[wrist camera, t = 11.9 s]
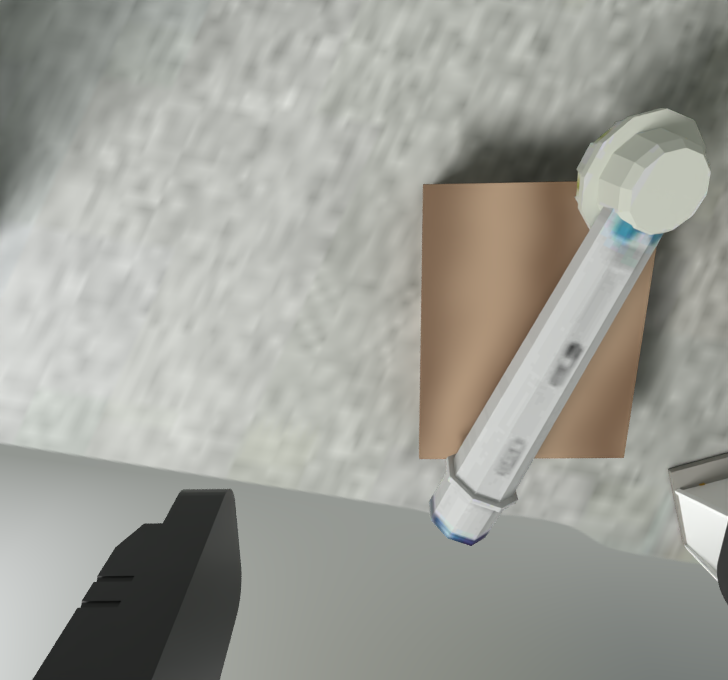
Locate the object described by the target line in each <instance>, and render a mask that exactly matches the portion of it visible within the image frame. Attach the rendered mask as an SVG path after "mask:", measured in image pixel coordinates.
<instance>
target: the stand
mask: <svg viewBox="0 0 728 680" xmlns="http://www.w3.org/2000/svg"><path fill="white" fill-rule="evenodd" d="M576 192H577V181H565V182H513V183H462V184H423V224H422V290H421V356H420V422H419V458H420V459H447V457H448V456H451V455H453V454H456V453H457V452H458V450H459V449H460V447H461V445H462V444H463V442H464V440H465V439H466V437H467V435H468V434H469V432H470V430H471V429H472V427H473V425H474V423H475V422H476V420H477V418H478V417H479V415H480V413H481V412H482V410H483V408H484V407H485V405H486V403H487V402H488V400H489V398H490V397H491V395H492V393H493V392H494V390H495V388H496V387H497V385H498V383H499V382H500V380H501V378H502V376H503V375H504V373H505V371H506V370H507V368H508V366H509V365H510V363H511V361H512V360H513V358H514V356H515V355H516V353H517V351H518V350H519V348H520V346H521V345H522V343H523V341H524V340H525V338H526V336H527V335H528V333H529V331H530V329H531V328H532V326H533V324H534V323H535V321H536V319H537V318H538V316H539V314H540V313H541V311H542V309H543V308H544V306H545V304H546V303H547V301H548V299H549V298H550V296H551V294H552V293H553V291H554V289H555V288H556V286H557V284H558V282H559V281H560V279H561V277H562V276H563V274H564V272H565V271H566V269H567V267H568V266H569V264H570V262H571V261H572V259H573V257H574V256H575V254H576V252H577V251H578V249H579V247H580V246H581V244H582V242H583V241H584V239H585V237H586V235H587V234H588V232H589V228H588V226H587V224H586V222H585V221H584V219H583V217H582V215H581V213H580V211H579V209H578V203H577V201H576V199H575V197H574V196H576ZM656 247H657V246H656ZM655 253H656V248H655V249H654V251H653V253H652V255H651V256H650V258H649V260H648V262H647V263H646V265H645V267H644V269H643V270H642V272H641V274H640V275H639V277H638V279H637V281H636V282H635V284H634V286H633V288H632V289H631V291H630V293H629V295H628V296H627V298H626V300H625V302H624V303H623V305H622V307H621V308H620V310H619V312H618V314H617V315H616V317H615V319H614V321H613V322H612V324H611V326H610V328H609V329H608V331H607V333H606V334H605V336H604V338H603V340H602V341H601V343H600V345H599V347H598V348H597V350H596V352H595V354H594V355H593V357H592V359H591V360H590V362H589V364H588V366H587V367H586V369H585V371H584V373H583V374H582V376H581V378H580V380H579V381H578V383H577V385H576V386H575V388H574V390H573V392H572V393H571V395H570V397H569V399H568V400H567V402H566V404H565V406H564V407H563V409H562V411H561V413H560V414H559V416H558V418H557V419H556V421H555V423H554V425H553V426H552V428H551V430H550V432H549V433H548V435H547V437H546V439H545V440H544V442H543V444H542V445H541V447H540V449H539V451H538V452H537V454H536V456H535V458H624V453H625V446H626V440H627V434H628V427H629V421H630V414H631V408H632V401H633V395H634V388H635V382H636V376H637V369H638V363H639V356H640V350H641V343H642V337H643V331H644V324H645V318H646V311H647V305H648V298H649V292H650V285H651V279H652V273H653V266H654V260H655Z"/></svg>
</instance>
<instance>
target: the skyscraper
mask: <svg viewBox="0 0 728 680" xmlns="http://www.w3.org/2000/svg"><path fill="white" fill-rule="evenodd" d="M668 472H669V477H670V482H671V487H672V492H673V497H674V502H675V507H676V512H677V517H678V522H679V527H680V532H681V537H682V542H683V545H684V546H685V548H686V549H687V550H688V551H689V552H690V553H691V554H692V555H693V556H694V557H695V558H696V559H697V560H698V561H699V563H700V564H701V565H702V566H703V567H704V568H705V569H706V570H707V571H708V572H709V573H710V574H711V575H712V576H713V577H714V578H715V579H716V580H717V581H718V578H717V563H718V559H719V555H720V551H721V547H722V543H723V539H724V535H725V531H726V527H727V523H728V453H726V454H722V455H719V456H715V457H711V458H708V459H704V460H700V461H697V462H693V463H689V464H686V465H682V466H678V467H675V468H671V469H668Z"/></svg>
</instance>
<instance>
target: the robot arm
mask: <svg viewBox="0 0 728 680" xmlns="http://www.w3.org/2000/svg"><path fill="white" fill-rule="evenodd" d="M240 561H241V560H240V550H239V539H238V529H237V518H236V507H235V498H234V494H233V491H232V490H231V489H191V490H190V489H186V490H182V491H181V492H180V493H179V495H178V496H177V498H176V500H175V502H174V504H173V505H172V507H171V509H170V511H169V513H168V515H167V517H166V518H165V520H164V522H163V523H162V524H161V523H160V524H159V523H158V524H143V525H142V526H141V527H140V528H138V529H137V530H136V531H135V532H134V533H132V534H131V535H130V536H129V537H127V538H126V539H125V540H124V541H123V542H121V543H120V544H119V545H118V546H117V547H115V549H114V551H113V552H112V554H111V555H110V557H109V559H108V560H107V562H106V563H105V565H104V567H103V568H102V570H101V571H100V573H99V575H98V576H97V577H98V578H97V582H94V583H93V584H92V586H91V587H90V589H89V590H88V592H87V594H86V595H85V597H84V598H83V600H82V605H81V608H77V610H76V611H75V613H74V614H73V616H72V618H71V619H70V621H69V622H68V624H67V626H66V627H65V629H64V630H63V632H62V634H61V635H60V637H59V638H58V640H57V641H56V643H55V645H54V646H53V648H52V649H51V651H50V653H49V654H48V656H47V657H46V659H45V661H44V662H43V664H42V665H41V667H40V669H39V670H38V672H37V674H36V675H35V677H34V678H33V680H220V676H221V673H222V669H223V665H224V661H225V658H226V653H227V650H228V646H229V643H230V639H231V635H232V631H233V627H234V624H235V620H236V616H237V612H238V607H239V601H240V593H241V562H240ZM717 578H718V583H719V587H720V590H721V592H722V595H723V597H724V599H725V601H726V602H727V604H728V523H727V527H726V531H725V535H724V539H723V543H722V547H721V551H720V555H719V559H718V563H717Z"/></svg>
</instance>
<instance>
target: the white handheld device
mask: <svg viewBox="0 0 728 680" xmlns="http://www.w3.org/2000/svg"><path fill="white" fill-rule="evenodd" d="M705 154H706V146H705V143H704V141H703V139H702V136H701V134H700V132H699V129H698V127H697V125H696V122H695V120H693V119H691V118H688V117H686V116H684V115H681V114H679V113H677V112H674V111H672V110H670V109H667V108H659V109H655V110H651V111H647V112H644V113H640V114H636V115H632V116H628V117H627V118H626V119H625V120H621V121H617V122H615V125H613V126H612V127H611V128H610V129H609V130H608V131H606V132H605V133H604V134H603V135H602V136H600V137H599V138H598V139H597V140H596V141H595V142H593V143H590V145H589V147H588V148H587V150H586V152H585V154H584V156H583V158H582V160H581V162H580V164H579V165H578V167H577V169H576V170H578V178H577V192H576V196H574V197H575V199H576V201H577V203H578V209H579V211H580V213H581V215H582V217H583V219H584V221H585V222H586V224H587V226H588V228H589V232H588V234H587V235H586V237H585V239H584V241H583V242H582V244H581V246H580V247H579V249H578V251H577V252H576V254H575V256H574V257H573V259H572V261H571V262H570V264H569V266H568V267H567V269H566V271H565V272H564V274H563V276H562V277H561V279H560V281H559V282H558V284H557V286H556V288H555V289H554V291H553V293H552V294H551V296H550V298H549V299H548V301H547V303H546V304H545V306H544V308H543V309H542V311H541V313H540V314H539V316H538V318H537V319H536V321H535V323H534V324H533V326H532V328H531V329H530V331H529V333H528V335H527V336H526V338H525V340H524V341H523V343H522V345H521V346H520V348H519V350H518V351H517V353H516V355H515V356H514V358H513V360H512V361H511V363H510V365H509V366H508V368H507V370H506V371H505V373H504V375H503V376H502V378H501V380H500V382H499V383H498V385H497V387H496V388H495V390H494V392H493V393H492V395H491V397H490V398H489V400H488V402H487V403H486V405H485V407H484V408H483V410H482V412H481V413H480V415H479V417H478V418H477V420H476V422H475V423H474V425H473V427H472V429H471V430H470V432H469V434H468V435H467V437H466V439H465V440H464V442H463V444H462V445H461V447H460V449H459V450H458V452H457V453H456V454H453V455H451V456H448V457H447V459H446V470H447V471H446V473H445V475H444V476H443V478H442V480H441V482H440V484H439V485H438V487H437V489H436V491H435V492H434V494H433V496H432V498H431V500H430V501H429V506H430V519H431V521H432V522H433V523H434V524H435V525H436V526H437V527H438V528H439V529H440V530H441V532H442V533H443V534H444V535H445V536H446V537H447V538H449V539H452V540H455V541H458V542H461V543H464V544H467V545H470V546H472V545H473V544H475V543H477V542H478V541H480V540H482V539H483V538H485V537H486V535H487V534H488V532H489V531H490V529H491V528H492V526H493V525H494V523H495V522H496V520H497V519H498V517H499V516H500V514H501V513H502V511H503V510H504V509H506V508H508V507H510V506H511V505H513V504H515V503H516V501H517V500H518V498H517V494H516V489H517V487H518V485H519V484H520V482H521V480H522V478H523V477H524V475H525V473H526V471H527V470H528V468H529V466H530V465H531V463H532V461H533V459H534V458H535V456H536V454H537V452H538V451H539V449H540V447H541V445H542V444H543V442H544V440H545V439H546V437H547V435H548V433H549V432H550V430H551V428H552V426H553V425H554V423H555V421H556V419H557V418H558V416H559V414H560V413H561V411H562V409H563V407H564V406H565V404H566V402H567V400H568V399H569V397H570V395H571V393H572V392H573V390H574V388H575V386H576V385H577V383H578V381H579V380H580V378H581V376H582V374H583V373H584V371H585V369H586V367H587V366H588V364H589V362H590V360H591V359H592V357H593V355H594V354H595V352H596V350H597V348H598V347H599V345H600V343H601V341H602V340H603V338H604V336H605V334H606V333H607V331H608V329H609V328H610V326H611V324H612V322H613V321H614V319H615V317H616V315H617V314H618V312H619V310H620V308H621V307H622V305H623V303H624V302H625V300H626V298H627V296H628V295H629V293H630V291H631V289H632V288H633V286H634V284H635V282H636V281H637V279H638V277H639V275H640V274H641V272H642V270H643V269H644V267H645V265H646V263H647V262H648V260H649V258H650V256H651V255H652V253H653V251H654V249H655V248H656V246H657V244H658V243H659V241H660V239H661V237H662V236H663V234H664V233H666V232H669V231H671V230H674V229H675V228H676V227H678V226H679V225H680V224H682V223H683V222H685V221H686V220H687V219H689V218H690V217H691V216H693V215H694V213H695V212H696V210H697V208H698V207H699V205H700V204H701V202H702V201H703V199H704V198H705V196H706V195H707V190H708V184H709V179H710V173H711V170H710V165H709V162H708V160H707V158H706V155H705Z"/></svg>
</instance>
